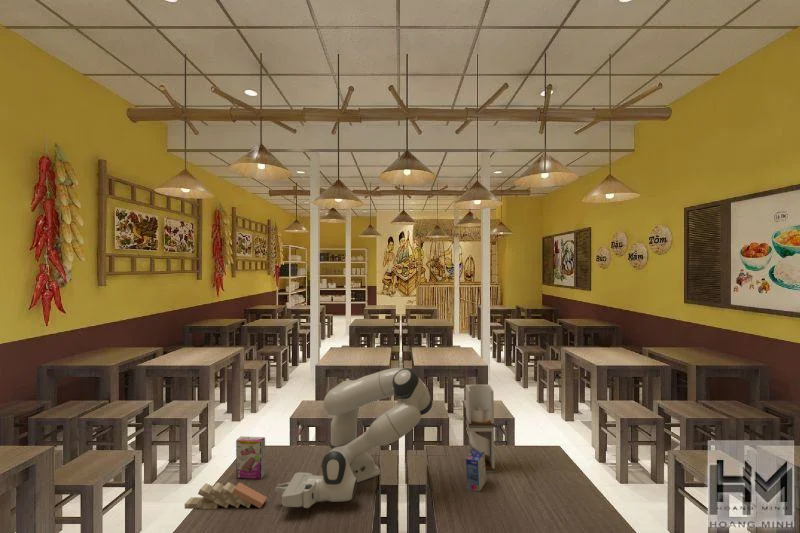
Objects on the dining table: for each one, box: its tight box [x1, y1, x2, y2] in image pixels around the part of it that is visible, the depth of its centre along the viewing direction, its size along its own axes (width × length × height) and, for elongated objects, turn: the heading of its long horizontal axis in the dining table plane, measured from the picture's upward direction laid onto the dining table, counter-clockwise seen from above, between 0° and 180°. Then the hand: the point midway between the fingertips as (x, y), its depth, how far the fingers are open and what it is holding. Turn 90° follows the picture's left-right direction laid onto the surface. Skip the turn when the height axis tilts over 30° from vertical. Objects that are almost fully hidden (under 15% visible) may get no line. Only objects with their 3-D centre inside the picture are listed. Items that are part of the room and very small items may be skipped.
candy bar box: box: [235, 435, 266, 480], centre depth 203 cm, size 11×5×16 cm, turn 84°
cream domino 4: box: [220, 481, 252, 509], centre depth 179 cm, size 2×5×12 cm
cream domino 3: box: [210, 482, 242, 509], centre depth 179 cm, size 2×5×12 cm
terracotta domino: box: [232, 481, 268, 510], centre depth 179 cm, size 2×5×12 cm
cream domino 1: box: [184, 496, 220, 510], centre depth 179 cm, size 2×5×12 cm
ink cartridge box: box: [465, 448, 487, 492], centre depth 192 cm, size 10×6×14 cm, turn 155°
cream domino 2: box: [197, 482, 231, 509], centre depth 179 cm, size 2×5×12 cm
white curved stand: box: [465, 384, 496, 474], centre depth 209 cm, size 11×11×35 cm
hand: (276, 488), depth 178 cm, fingers closed
